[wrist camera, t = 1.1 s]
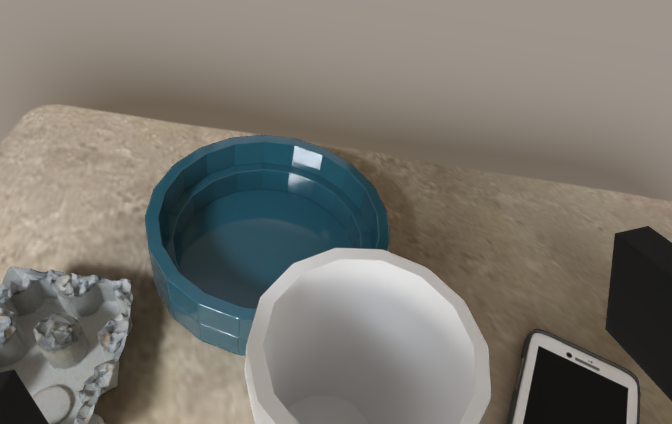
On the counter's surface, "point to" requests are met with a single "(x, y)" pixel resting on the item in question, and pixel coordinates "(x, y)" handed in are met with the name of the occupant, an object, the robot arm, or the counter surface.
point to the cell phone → (571, 386)
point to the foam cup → (365, 345)
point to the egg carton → (64, 338)
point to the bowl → (251, 227)
